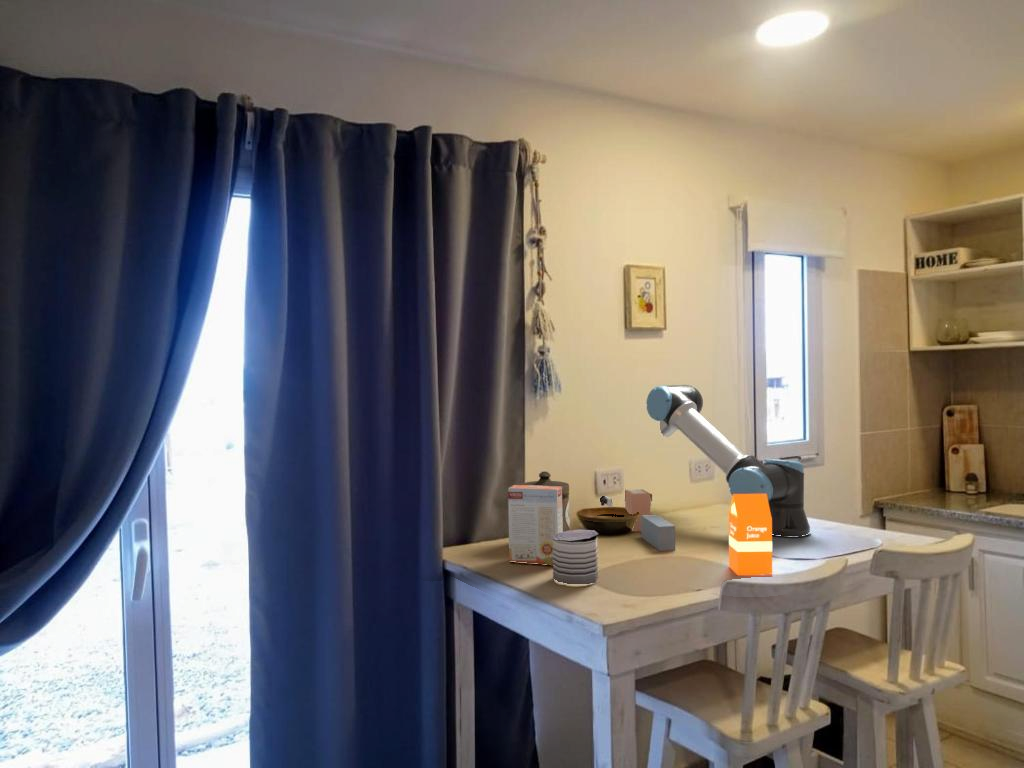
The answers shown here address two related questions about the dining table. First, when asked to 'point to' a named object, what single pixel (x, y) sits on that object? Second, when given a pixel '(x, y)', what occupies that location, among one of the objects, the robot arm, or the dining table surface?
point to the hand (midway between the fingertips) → (630, 502)
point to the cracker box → (534, 522)
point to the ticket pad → (658, 532)
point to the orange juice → (750, 535)
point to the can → (575, 557)
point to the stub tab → (637, 505)
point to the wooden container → (546, 481)
